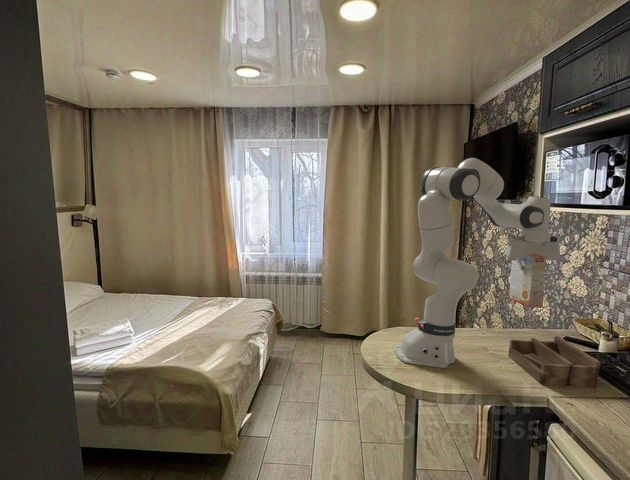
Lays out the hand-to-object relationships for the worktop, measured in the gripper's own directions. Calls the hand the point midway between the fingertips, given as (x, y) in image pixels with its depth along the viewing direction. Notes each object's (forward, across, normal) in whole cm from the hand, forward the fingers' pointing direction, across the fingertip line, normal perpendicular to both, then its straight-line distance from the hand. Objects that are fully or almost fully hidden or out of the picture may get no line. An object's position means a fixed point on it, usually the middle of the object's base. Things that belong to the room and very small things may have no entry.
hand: (529, 269), depth 142 cm
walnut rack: (+33, -4, -24) cm, 41 cm away
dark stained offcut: (+30, -8, -24) cm, 39 cm away
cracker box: (+15, 0, 0) cm, 15 cm away
